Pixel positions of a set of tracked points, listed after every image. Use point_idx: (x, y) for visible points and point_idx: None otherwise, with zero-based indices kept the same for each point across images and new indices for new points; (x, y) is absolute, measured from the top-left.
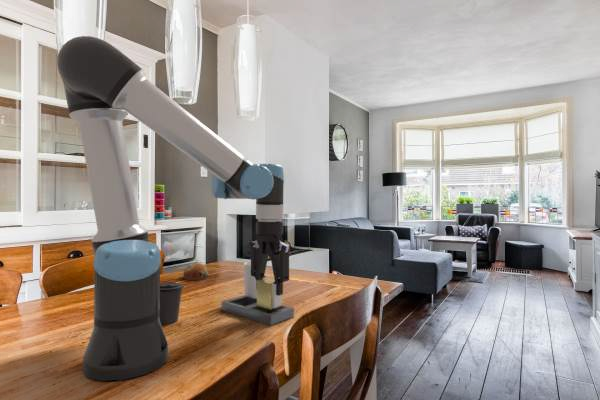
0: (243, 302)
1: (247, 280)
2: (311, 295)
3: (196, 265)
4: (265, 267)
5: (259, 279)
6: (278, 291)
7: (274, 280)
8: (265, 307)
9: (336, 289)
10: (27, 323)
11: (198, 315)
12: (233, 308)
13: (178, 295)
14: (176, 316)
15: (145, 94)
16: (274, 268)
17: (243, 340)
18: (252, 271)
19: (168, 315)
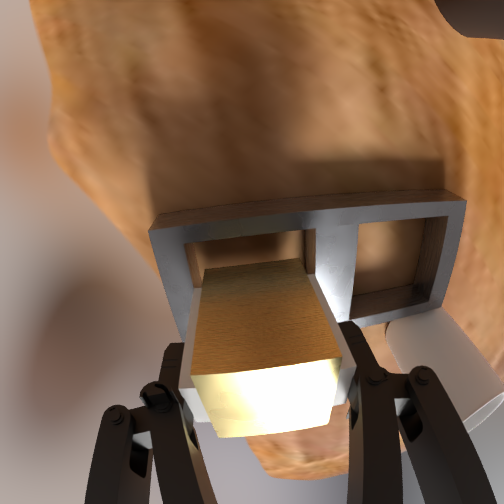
0: (422, 280)
1: (462, 351)
2: (307, 429)
3: None
4: (350, 469)
5: (353, 379)
6: (171, 361)
7: (245, 418)
8: (237, 267)
9: (291, 459)
10: None
11: (454, 95)
12: (401, 197)
13: None
14: (449, 4)
15: None
16: (175, 493)
17: (105, 48)
18: (429, 394)
19: None
